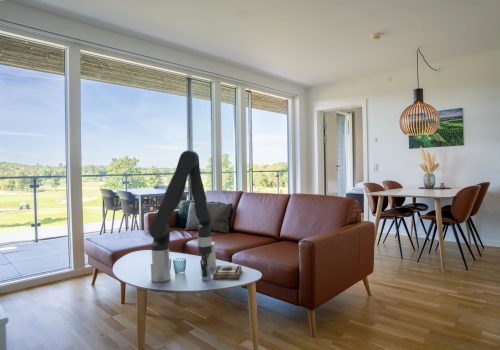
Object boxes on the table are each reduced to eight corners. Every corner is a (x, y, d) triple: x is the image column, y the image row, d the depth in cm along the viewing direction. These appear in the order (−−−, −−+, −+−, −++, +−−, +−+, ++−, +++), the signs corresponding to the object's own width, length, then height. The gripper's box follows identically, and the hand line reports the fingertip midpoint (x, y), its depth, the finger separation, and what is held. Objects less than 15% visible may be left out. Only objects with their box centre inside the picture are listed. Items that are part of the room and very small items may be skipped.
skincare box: (216, 265, 206) (215, 241, 205) (215, 268, 200) (214, 244, 199) (202, 265, 205) (201, 242, 205) (201, 268, 199) (200, 244, 199)
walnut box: (213, 279, 181) (213, 273, 181) (218, 270, 195) (217, 265, 195) (238, 279, 180) (238, 273, 179) (241, 270, 194) (241, 265, 193)
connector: (201, 280, 180) (201, 262, 179) (203, 277, 183) (202, 260, 183) (208, 280, 179) (208, 262, 179) (210, 277, 183) (209, 260, 183)
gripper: (201, 241, 188) (202, 271, 189) (194, 247, 174) (196, 279, 174) (214, 241, 187) (215, 271, 188) (208, 247, 173) (209, 279, 174)
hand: (205, 275), depth 181 cm, fingers closed on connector, 4 cm apart
